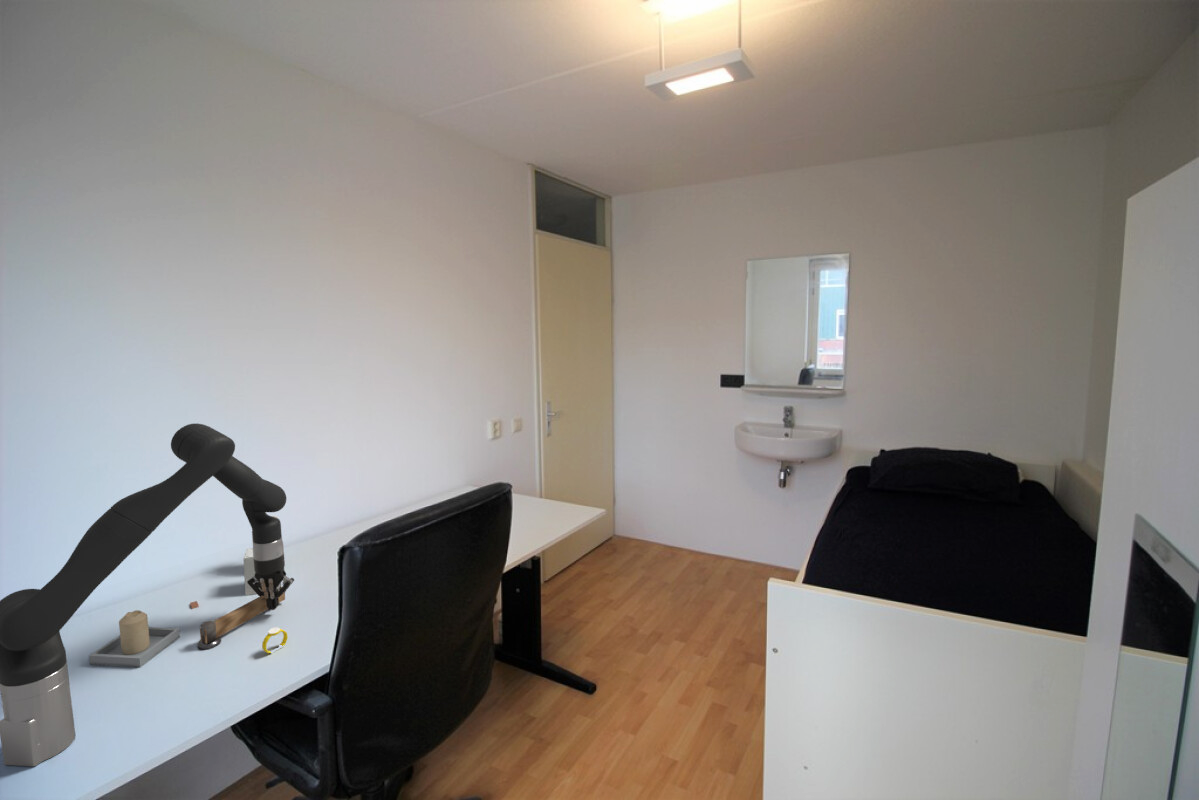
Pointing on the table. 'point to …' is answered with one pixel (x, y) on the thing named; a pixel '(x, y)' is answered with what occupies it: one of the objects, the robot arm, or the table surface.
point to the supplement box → (249, 571)
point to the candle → (134, 632)
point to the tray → (115, 657)
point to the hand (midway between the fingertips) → (272, 608)
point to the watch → (271, 633)
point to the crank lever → (233, 619)
